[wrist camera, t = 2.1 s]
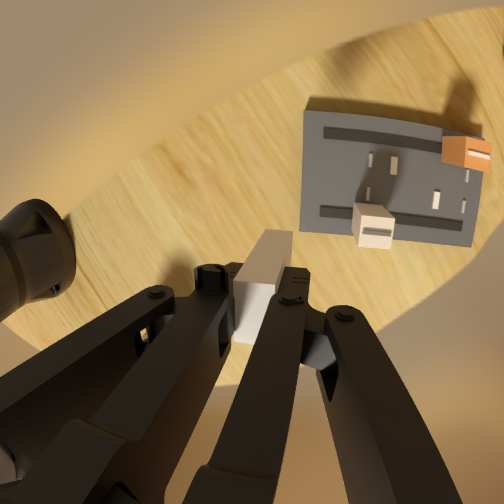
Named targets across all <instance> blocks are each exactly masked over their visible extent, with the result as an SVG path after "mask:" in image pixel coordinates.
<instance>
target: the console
mask: <svg viewBox="0 0 504 504" xmlns="http://www.w3.org/2000/svg"><path fill="white" fill-rule="evenodd" d="M442 136H467V137H471V138H475V139H478V140H482V141H485V139H484V138H480V137H477V136H473V135H469V134H465V133H461V132H457V131H453V130H449V129H444V128H439V127H435V126H430V125H425V124H420V123H414V122H408V121H402V120H396V119H390V118H383V117H375V116H367V115H358V114H349V113H338V112H325V111H309V110H304V121H303V161H302V187H301V209H300V227H299V231H302V232H315V233H327V234H339V235H351V236H354V235H353V232H352V229H351V227H352V217H353V206H354V203H365V204H375V205H382V206H383V207H384V208H385V209H386V210H387V211H388V212H389V213H390V214H391V215H392V216H393V217H394V218H395V224H394V231H393V237H392V239H394V240H405V241H415V242H424V243H434V244H443V245H452V246H461V247H470V248H471V245H472V241H473V236H474V231H475V225H476V220H477V214H478V207H479V201H480V193H481V185H482V175H483V171H479V170H474V169H470V168H465V167H461V166H456V165H452V164H447V163H443V162H441V154H442Z"/></svg>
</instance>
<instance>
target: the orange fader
mask: <svg viewBox="0 0 504 504" xmlns="http://www.w3.org/2000/svg"><path fill="white" fill-rule="evenodd" d="M490 161H491V143H489V142H486V141H482V140H478V139H475V138H471V137H467V136H442V154H441V162H443V163H447V164H452V165H456V166H461V167H465V168H470V169H474V170H479V171H483V172H487V173H490Z"/></svg>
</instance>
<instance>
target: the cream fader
mask: <svg viewBox="0 0 504 504" xmlns="http://www.w3.org/2000/svg"><path fill="white" fill-rule="evenodd" d="M394 224H395V218H394V217H393V216H392V215H391V214H390V213H389V212H388V211H387V210H386V209H385V208H384V207H383V206H382V205H375V204H365V203H354V206H353V217H352V227H351V229H352V232H353V235H354V237H355V240H356V243H357V245H358V247H368V248H379V249H391V244H392V237H393V231H394Z"/></svg>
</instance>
